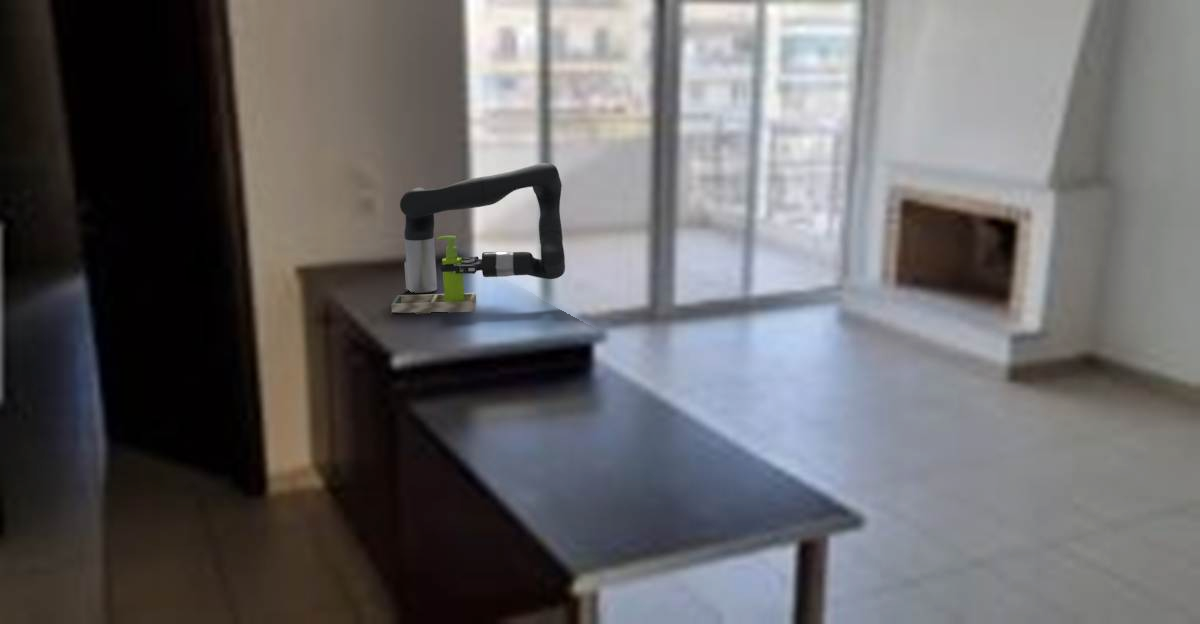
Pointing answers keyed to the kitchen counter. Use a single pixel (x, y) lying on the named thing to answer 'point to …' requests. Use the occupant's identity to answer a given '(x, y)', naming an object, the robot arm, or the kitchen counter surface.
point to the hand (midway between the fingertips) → (442, 265)
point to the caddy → (432, 303)
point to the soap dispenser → (452, 273)
